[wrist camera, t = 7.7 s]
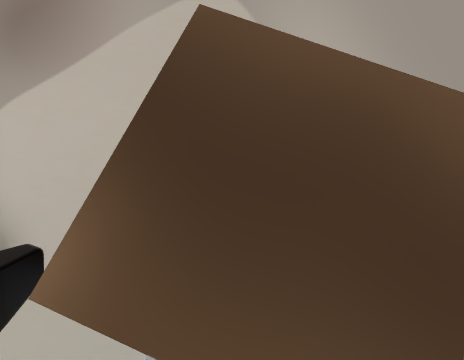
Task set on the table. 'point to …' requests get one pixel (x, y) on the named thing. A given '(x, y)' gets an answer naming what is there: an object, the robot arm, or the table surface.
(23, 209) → the table surface
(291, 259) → the walnut pillar
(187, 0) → the table surface
